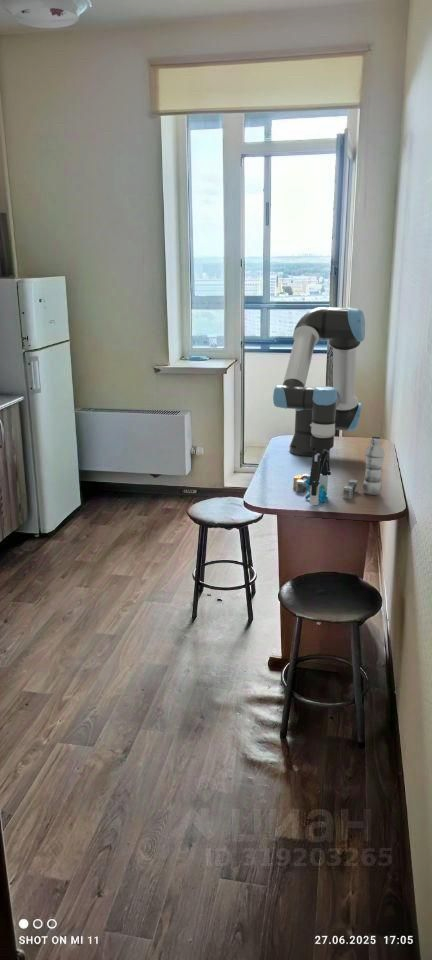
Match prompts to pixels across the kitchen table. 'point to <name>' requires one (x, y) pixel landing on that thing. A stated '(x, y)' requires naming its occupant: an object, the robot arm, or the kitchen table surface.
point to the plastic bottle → (373, 467)
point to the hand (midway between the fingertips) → (318, 498)
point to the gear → (321, 492)
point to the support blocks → (300, 479)
